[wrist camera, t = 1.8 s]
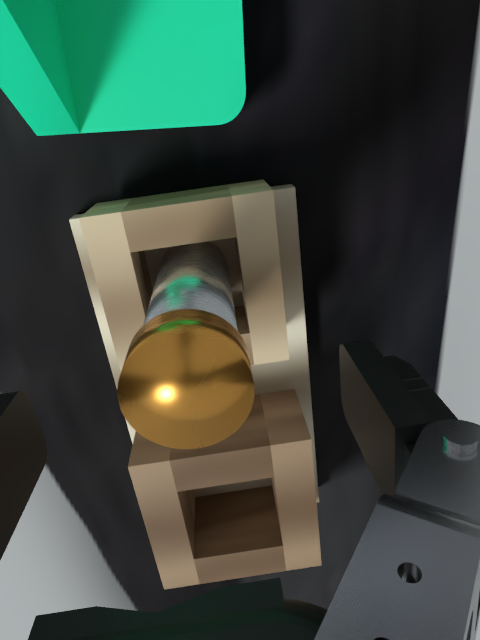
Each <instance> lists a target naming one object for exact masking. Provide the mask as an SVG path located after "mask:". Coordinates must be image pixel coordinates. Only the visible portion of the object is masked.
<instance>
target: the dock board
mask: <svg viewBox="0 0 480 640" xmlns="http://www.w3.org/2000/svg"><path fill="white" fill-rule="evenodd" d="M69 221H70V225H71V228H72V232H73V235H74V239H75V242H76V246H77V249H78V253H79V257H80V260H81V264H82V267H83V271H84V274H85V278H86V281H87V285H88V288H89V292H90V295H91V299H92V302H93V306H94V309H95V313H96V317H97V320H98V324H99V327H100V331H101V334H102V338H103V341H104V345H105V348H106V352H107V355H108V359H109V362H110V366H111V369H112V373H113V377H114V380H115V384H116V387H117V388H118V381H119V377H120V374H121V370H122V367H123V364H124V361H125V358H126V355H127V352H128V349H129V346H130V344H131V341H132V339H133V338H134V336H135V334H136V333H137V332H138V331H139V329H140V328H141V327H142V326H143V324H144V321H145V317H146V314H147V310H148V307H149V304H150V300H151V297H152V293H153V290H154V286H155V283H156V279H157V276H158V272H159V269H160V265H161V262H162V259H163V256H164V254H165V253H166V251H167V250H168V249H169V248H170V247H172V246H179V245H186V244H193V243H200V242H207V241H209V242H211V243H213V244H214V245H216V246H217V247H218V248H219V249H220V250H221V252H222V253H223V255H224V256H225V259H226V261H227V266H228V272H229V278H230V284H231V291H232V297H233V304H234V310H235V316H236V323H237V329H238V332H239V333H240V335H241V336H242V338H243V340H244V342H245V344H246V346H247V349H248V354H249V359H250V364H251V370H252V375H253V380H254V387H255V395H254V402H253V406H252V409H251V411H250V414H249V415H248V417H247V419H246V420H245V422H244V423H243V424H242V426H241V427H240V428H239V429H238V430H237V431H236V432H234V433H233V434H232V435H230V436H229V437H228V438H226V439H224V440H222V441H220V442H218V443H216V444H213V445H210V446H207V447H203V448H198V449H175V448H169V447H165V446H162V445H159V444H156V443H154V442H152V441H150V440H148V439H146V438H145V437H143V436H142V435H140V434H139V433H138V432H137V431H135V430H134V429H133V428H132V426H131V425H130V424H129V423H128V422H127V420H126V422H127V426H128V429H129V433H130V436H131V440H132V444H133V446H132V450H131V455H130V460H129V464H128V469H129V472H130V476H131V479H132V482H133V486H134V489H135V493H136V496H137V499H138V503H139V506H140V509H141V513H142V516H143V519H144V523H145V526H146V530H147V533H148V536H149V540H150V543H151V546H152V550H153V553H154V557H155V560H156V563H157V567H158V570H159V573H160V577H161V580H162V584H163V587H164V589H170V588H177V587H183V586H190V585H196V584H203V583H209V582H216V581H223V580H229V579H236V578H242V577H249V576H255V575H262V574H268V573H275V572H281V571H288V570H294V569H301V568H307V567H314V566H320V565H321V553H320V540H319V528H318V515H317V503H316V502H319V494H318V481H317V468H316V455H315V442H314V428H313V415H312V402H311V389H310V376H309V363H308V350H307V336H306V323H305V310H304V297H303V284H302V271H301V257H300V244H299V231H298V218H297V205H296V192H295V187H294V186H293V185H292V184H287V185H280V186H273V187H270V186H269V185H268V184H267V183H266V182H265V181H264V179H263V180H256V181H249V182H242V183H235V184H228V185H221V186H214V187H207V188H200V189H193V190H186V191H179V192H172V193H165V194H158V195H151V196H144V197H137V198H130V199H123V200H116V201H109V202H102V203H96V204H95V205H94V206H93V207H92V208H90V209H89V210H88V211H87V212H86V213H84V214H78V215H74V216H73V217H72V218H71V219H69Z"/></svg>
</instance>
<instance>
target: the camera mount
mask: <svg viewBox="0 0 480 640" xmlns="http://www.w3.org/2000/svg"><path fill="white" fill-rule="evenodd" d="M0 87H1V89H2V90H3V91H4V93H5V94H6V95H7V97H8V98H9V99H10V101H11V102H12V103H13V105H14V106H15V107H16V109H17V110H18V111H19V112H20V114H21V115H22V116H23V118H24V119H25V120H26V122H27V123H28V124H29V126H30V127H31V128H32V130H33V131H34V132H35V134H36V135H37V136H43V135H60V134H76V133H93V132H109V131H126V130H143V129H159V128H176V127H193V126H209V125H221V124H225V123H228V122H230V121H231V120H233V119H234V118H235V117H236V116H237V115H238V114H239V112H240V111H241V109H242V107H243V105H244V102H245V97H246V82H245V59H244V36H243V13H242V0H0Z"/></svg>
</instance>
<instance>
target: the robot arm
mask: <svg viewBox="0 0 480 640" xmlns="http://www.w3.org/2000/svg"><path fill="white" fill-rule="evenodd" d="M339 362H340V383H341V399H342V406H343V411H344V415H345V418H346V420H347V423H348V425H349V427H350V429H351V431H352V433H353V435H354V437H355V439H356V441H357V444H358V446H359V448H360V450H361V452H362V454H363V456H364V458H365V460H366V462H367V464H368V467H369V469H370V471H371V473H372V475H373V477H374V479H375V481H376V483H377V485H378V488H379V490H380V492H381V494H382V496H381V497H380V499H379V501H378V503H377V505H376V507H375V509H374V511H373V513H372V516H371V518H370V520H369V522H368V524H367V526H366V529H365V531H364V533H363V535H362V537H361V539H360V542H359V544H358V546H357V548H356V550H355V552H354V554H353V557H352V559H351V561H350V563H349V565H348V567H347V570H346V572H345V574H344V576H343V578H342V580H341V583H340V585H339V587H338V589H337V591H336V593H335V596H334V598H333V600H332V602H331V604H330V606H329V609H328V610H326V609H324V608H322V607H319V606H316V605H314V604H311V603H307V602H303V601H299V600H294V599H286V598H283V593H282V587H281V581H280V578H276V579H269V580H263V581H257V582H250V583H244V584H237V585H231V586H225V587H220V588H217V589H215V590H212V591H210V592H207V593H205V594H202V595H200V596H198V597H195V598H193V599H190V600H188V601H185V602H183V603H181V604H178V605H176V606H173V607H171V608H168V609H166V610H163V611H160V612H155V613H153V612H142V611H132V610H124V609H115V608H105V607H97V606H96V607H90V608H84V609H77V610H71V611H64V612H58V613H51V614H45V615H38V616H36V618H35V621H34V623H33V626H32V629H31V632H30V635H29V638H28V640H475V638H476V633H477V627H478V621H479V616H480V425H478V424H475V423H472V422H468V421H463V420H458V419H457V418H456V417H455V415H454V414H453V413H452V412H451V411H450V409H449V408H448V407H447V406H446V405H445V404H444V403H443V401H442V400H441V399H440V398H439V397H438V395H437V394H436V393H435V392H434V391H433V390H432V388H430V387H429V385H428V384H427V383H426V381H425V380H424V379H422V378H421V375H420V374H419V373H418V372H417V371H416V370H415V368H414V367H413V366H412V365H411V364H409V363H407V362H405V361H404V360H402V359H400V358H398V357H396V356H388V357H383V356H382V354H381V353H380V352H379V350H378V349H377V348H376V347H375V345H374V344H373V343H372V341H370V340H365V341H359V342H352V343H345V344H341V345H340V347H339ZM46 456H47V450H46V443H45V439H44V437H43V434H42V431H41V428H40V426H39V423H38V420H37V418H36V415H35V412H34V410H33V407H32V404H31V402H30V399H29V397H28V395H27V394H26V393H25V392H23V391H19V392H12V393H5V394H0V560H1V558H2V556H3V553H4V551H5V549H6V547H7V545H8V543H9V541H10V538H11V536H12V534H13V532H14V530H15V528H16V526H17V523H18V521H19V519H20V517H21V515H22V512H23V511H24V509H25V506H26V504H27V502H28V500H29V498H30V495H31V494H32V491H33V489H34V487H35V485H36V483H37V481H38V479H39V476H40V474H41V472H42V470H43V468H44V466H45V462H46Z"/></svg>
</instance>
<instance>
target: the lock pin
mask: <svg viewBox="0 0 480 640" xmlns="http://www.w3.org/2000/svg"><path fill="white" fill-rule="evenodd" d="M117 394H118V402H119V406H120V408H121V411H122V413H123V415H124V417H125V419H126V420H127V422H128V423H129V424H130V425H131V426H132V428H133V429H134V430H135V431H137V432H138V433H139V434H140V435H142V436H143V437H145V438H146V439H148V440H150V441H152V442H154V443H156V444H159V445H162V446H165V447H169V448H175V449H198V448H203V447H207V446H210V445H213V444H216V443H218V442H220V441H222V440H224V439H226V438H228V437H229V436H230V435H232V434H233V433H234V432H236V431H237V430H238V429H239V428H240V427H241V426H242V424H243V423H244V422H245V420H246V419H247V417H248V415H249V414H250V411H251V409H252V406H253V402H254V395H255V387H254V380H253V375H252V370H251V364H250V359H249V354H248V349H247V346H246V344H245V342H244V340H243V338H242V336H241V335H240V333H239V332H238V329H237V323H236V316H235V310H234V304H233V297H232V291H231V284H230V278H229V272H228V266H227V261H226V259H225V256H224V255H223V253H222V252H221V250H220V249H219V248H218V247H217V246H216V245H214V244H213V243H211V242H209V241H207V242H200V243H193V244H186V245H179V246H172V247H170V248H169V249H168V250H167V251H166V253H165V254H164V256H163V259H162V262H161V265H160V269H159V272H158V276H157V279H156V283H155V286H154V290H153V293H152V297H151V300H150V304H149V307H148V310H147V314H146V317H145V321H144V324H143V326H142V327H141V328H140V329H139V331H138V332H137V333H136V334H135V336H134V338H133V339H132V341H131V344H130V346H129V349H128V352H127V355H126V358H125V361H124V364H123V367H122V370H121V374H120V377H119V381H118V388H117Z"/></svg>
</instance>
